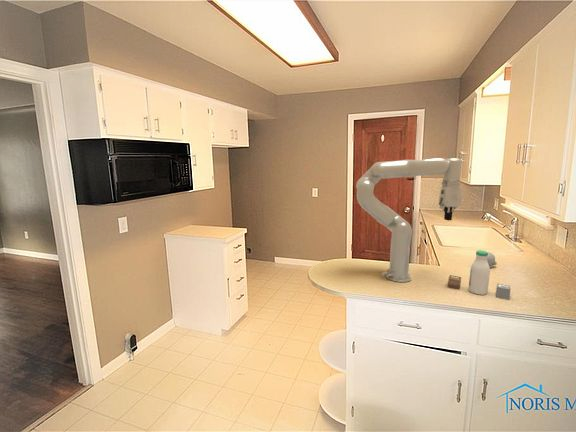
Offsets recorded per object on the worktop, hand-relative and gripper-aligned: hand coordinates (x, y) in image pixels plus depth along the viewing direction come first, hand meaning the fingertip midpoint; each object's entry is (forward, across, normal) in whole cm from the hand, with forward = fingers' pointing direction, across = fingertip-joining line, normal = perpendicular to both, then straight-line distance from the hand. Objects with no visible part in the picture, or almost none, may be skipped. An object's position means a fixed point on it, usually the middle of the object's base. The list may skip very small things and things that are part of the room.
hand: (447, 219), depth 151 cm
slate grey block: (+32, +10, -24) cm, 42 cm away
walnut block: (+32, -2, -9) cm, 33 cm away
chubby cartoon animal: (+32, +37, +6) cm, 50 cm away
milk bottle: (+32, +4, -17) cm, 37 cm away
